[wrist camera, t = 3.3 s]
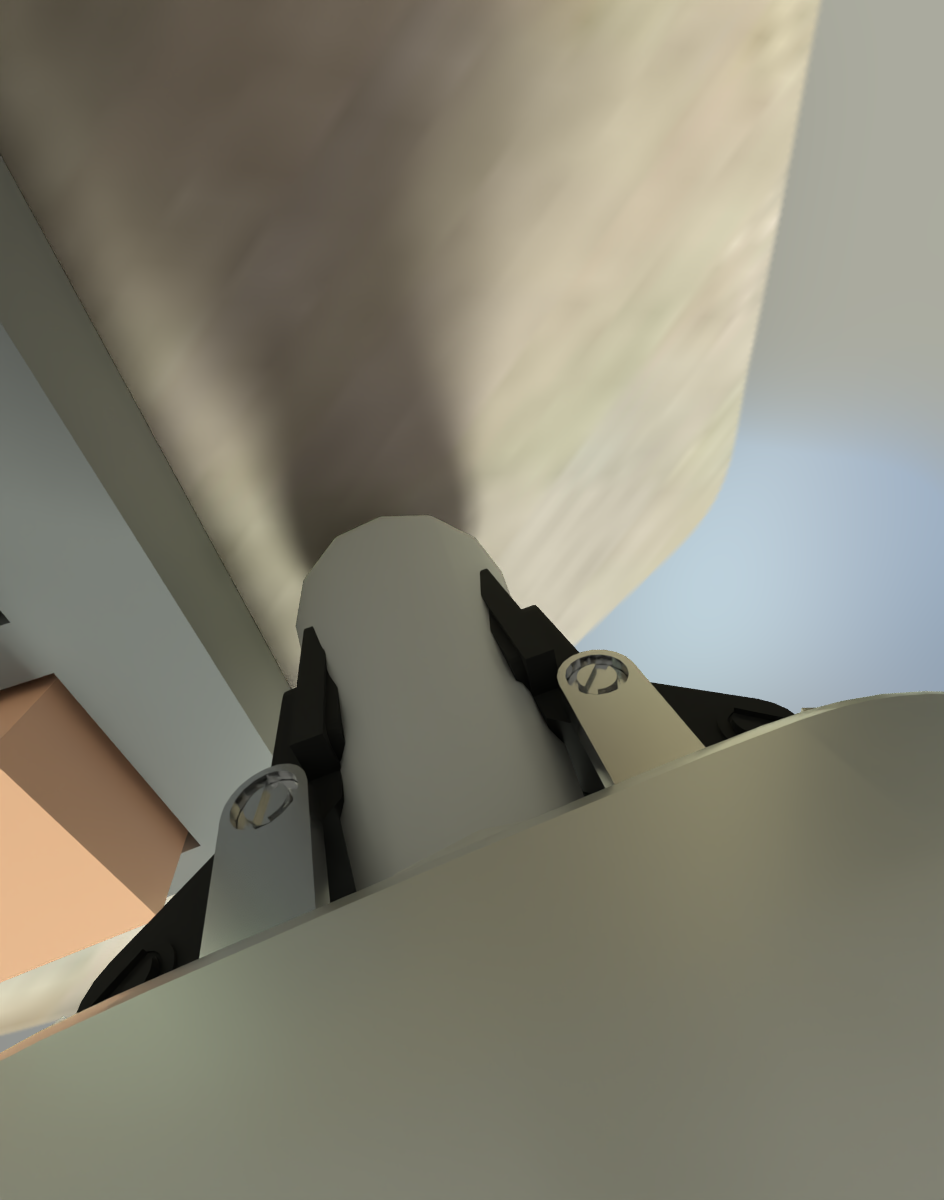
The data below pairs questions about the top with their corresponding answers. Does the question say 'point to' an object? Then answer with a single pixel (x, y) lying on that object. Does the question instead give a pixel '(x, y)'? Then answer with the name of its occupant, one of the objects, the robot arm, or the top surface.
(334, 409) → the top surface
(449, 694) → the salt shaker
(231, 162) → the top surface
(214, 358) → the top surface
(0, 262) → the keypad
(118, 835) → the key terracotta
